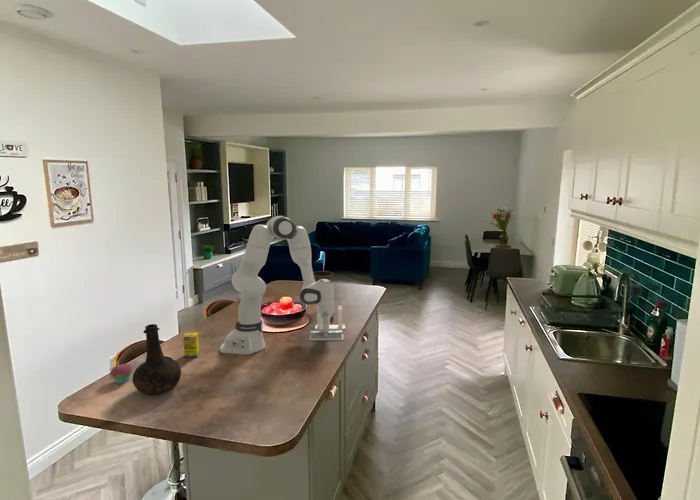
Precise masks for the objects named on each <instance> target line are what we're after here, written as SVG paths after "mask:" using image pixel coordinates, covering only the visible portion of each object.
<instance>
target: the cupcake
mask: <svg viewBox="0 0 700 500" xmlns="http://www.w3.org/2000/svg"><path fill="white" fill-rule="evenodd" d="M114 361H115V364H116V365H115V366H114V367H113V368H112V369H111V370H110V371H109V373H110V374H109V375H110V377H112V378H113V379H114V381H115V382H116V383H117V384H120V385H121V384H125V383H127V382H128V381H129V380H130V376H131V374H133V373H134V369H133V366H132V365H130V364H128V363H122V364H119V362H118V359H117V357H114Z"/></svg>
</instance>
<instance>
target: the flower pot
mask: <svg viewBox="0 0 700 500" xmlns="http://www.w3.org/2000/svg"><path fill="white" fill-rule="evenodd" d="M336 305H337V302H336V301H334V311H335V309H336ZM334 317H335V312H334V313H332V315H331V316H330V319H331V318H334Z"/></svg>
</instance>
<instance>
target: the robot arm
mask: <svg viewBox="0 0 700 500" xmlns="http://www.w3.org/2000/svg"><path fill="white" fill-rule="evenodd" d="M274 238H279V239H285V240H286V241H287V244H288V248H289V254H290V256H291V259H292V261H293V263H295V264H297V266H298V267H299V268H300V271H301V276H302V281H303V282H302V288H301V290H300V292H299V298H300V299H299V300H300V301H301V303H302V304H305V305H315V304H317V306H318V313H319V314H320V315H321V316H322V330H321V331H323V332H324V336H325V337H327V336H328V331H329V325H331V323H330V322H331V318H330V316H331V315H332V313H334V314H335V310H334V302H335V300H334V297H335V289H334V288H335V287H334V283H333V282H331V281H330V280H328V279H319V280H318V281H317V282H316V280H315V278H314V274H313V273H314V270H313V266H312V247H311V243H310V242H311V241H310V237H309V234H308V231H307V230H306V228H305V227H303V226H301V225H296V224H295V223H294V221H292V219H290V218H289V217H286V216H283V215H274V216H272V217H270V218H269V219H268V220H267V221H266V222H265V223H264V224H261V223H260V224H255V226H253V228H252V230H251V232H250V233H249V237H248V239H247V243H246V247H245V251H244V254H243V258H242V261H241V263H239V266H238V268H237V270H236V272H234V273H233V275H232V277H231V280H230V281H231V284H232V286H233V288H234V289H235V290H236V291H237V292H239V293H240V295H241V298H240V303H239V305H238V307H237V308H238V309H237V311H238V312H237V313H238V319H236V321H235V323H234V329H233V330H232V331H230V332H229V333H228V334H227V335H226V336H225V339H224V342H223V343H222V344H221V346H220V347H219V352H220V353H222V354H232V355H243V356H244V355H245V356H249V355H251V354H254V353H256V352H260V351H262V350H264V349H265V348H266V343H265V340H264V335H263V329H264V326H263V319H262V300H263V296H264V295H265V293H266V291H267V285H266V282H265V281H264V280H263V279H262V278H261V277H260V276H258V274H259V273H260V271H261V269H263V267H264V266H265V265H266V264H267V263H266V262H267V258H268V254H269V249H270V247H271V243H272V241H273V239H274Z"/></svg>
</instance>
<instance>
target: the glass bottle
mask: <svg viewBox="0 0 700 500" xmlns="http://www.w3.org/2000/svg"><path fill="white" fill-rule="evenodd" d="M159 330H160V328H159V327H158V324H157V323H156V324H155V323H151V324H148V325H145V327H144V330H143V334H145V339H146V357H145V361H144V362H142V363H141V364H140V365H138V366H137V367H136V368H135V370H134V371H133V373H132V384H133V386H134V388H135V389H136V390H137V391H139V392H140V393H141V394H144V395H146V396H159V395H162V394H165V393H168V392H170V391H171V390H173V389H174V388H175V387H176V386H177V385H178V383H179V381H180V379H181V376H182V368H181V366H180V364H179V363H178V362H177V360H174V359H173V358H172V357H170V356H166V355H164V353H163V350H162V346H161V342H160V337H159Z"/></svg>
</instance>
